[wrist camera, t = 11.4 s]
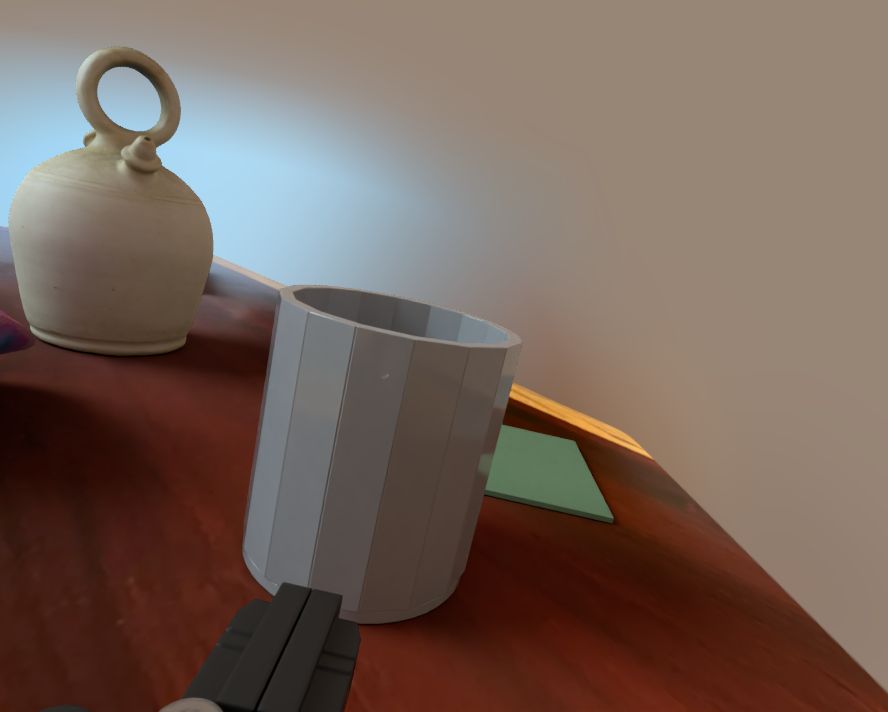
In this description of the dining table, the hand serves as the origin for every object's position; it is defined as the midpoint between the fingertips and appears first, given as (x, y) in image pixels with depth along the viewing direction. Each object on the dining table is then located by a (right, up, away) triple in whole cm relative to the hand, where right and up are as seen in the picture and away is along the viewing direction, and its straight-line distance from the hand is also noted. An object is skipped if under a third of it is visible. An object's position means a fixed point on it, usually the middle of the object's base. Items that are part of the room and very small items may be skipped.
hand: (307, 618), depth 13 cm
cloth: (+4, -1, +29) cm, 29 cm away
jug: (-28, +8, +37) cm, 47 cm away
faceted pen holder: (-1, -3, +14) cm, 14 cm away
